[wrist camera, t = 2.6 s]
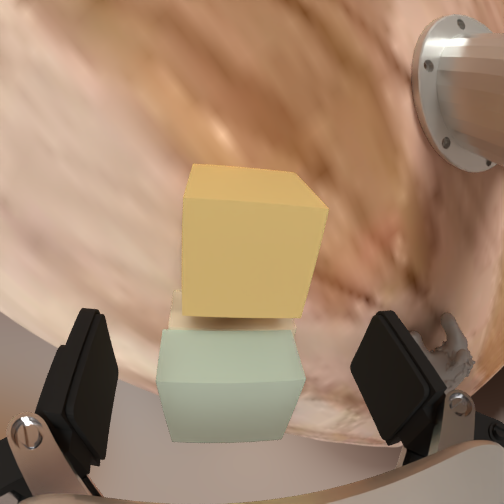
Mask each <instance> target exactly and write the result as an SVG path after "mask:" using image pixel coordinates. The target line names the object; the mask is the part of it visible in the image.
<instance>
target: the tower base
mask: <svg viewBox="0 0 504 504" xmlns="http://www.w3.org/2000/svg"><path fill="white" fill-rule="evenodd" d="M168 330H197V331H270V330H291V331H292V334H293V338H294V336H295V333H296V326H295V323H294V320H293V318H229V317H200V316H182V291H174V292H173V298H172V305H171V311H170V318H169V325H168Z"/></svg>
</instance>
